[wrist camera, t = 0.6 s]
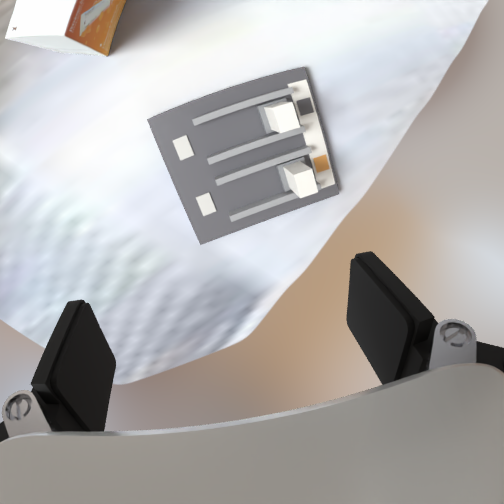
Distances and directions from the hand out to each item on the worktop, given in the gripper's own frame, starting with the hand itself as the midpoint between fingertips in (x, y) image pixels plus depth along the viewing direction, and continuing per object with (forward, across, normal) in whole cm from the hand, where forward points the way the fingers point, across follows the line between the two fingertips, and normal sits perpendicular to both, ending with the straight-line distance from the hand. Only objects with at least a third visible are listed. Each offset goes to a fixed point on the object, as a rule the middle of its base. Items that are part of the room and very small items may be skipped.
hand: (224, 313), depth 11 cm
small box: (+28, +10, -19) cm, 35 cm away
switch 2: (+26, -10, +2) cm, 28 cm away
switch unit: (+27, -5, 0) cm, 28 cm away
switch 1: (+26, -8, -4) cm, 28 cm away
